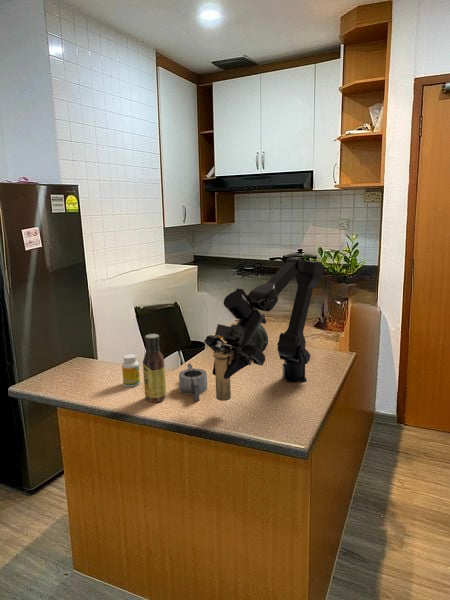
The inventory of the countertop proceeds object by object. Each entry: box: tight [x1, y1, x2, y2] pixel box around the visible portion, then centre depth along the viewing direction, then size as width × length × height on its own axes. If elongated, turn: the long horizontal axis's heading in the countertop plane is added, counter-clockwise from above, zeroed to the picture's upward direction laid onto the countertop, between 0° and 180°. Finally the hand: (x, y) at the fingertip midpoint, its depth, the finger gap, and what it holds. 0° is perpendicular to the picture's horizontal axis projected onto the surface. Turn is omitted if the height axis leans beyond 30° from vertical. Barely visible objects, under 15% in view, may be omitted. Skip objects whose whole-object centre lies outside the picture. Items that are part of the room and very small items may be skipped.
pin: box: [212, 350, 232, 402], centre depth 120 cm, size 5×5×13 cm
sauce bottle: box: [142, 333, 167, 403], centre depth 130 cm, size 7×6×20 cm
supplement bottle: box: [121, 353, 141, 388], centre depth 143 cm, size 5×5×10 cm
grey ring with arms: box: [178, 363, 208, 402], centre depth 139 cm, size 18×8×5 cm, turn 11°
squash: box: [249, 323, 269, 353], centre depth 170 cm, size 14×15×15 cm
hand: (219, 376), depth 119 cm, fingers closed on pin, 4 cm apart
